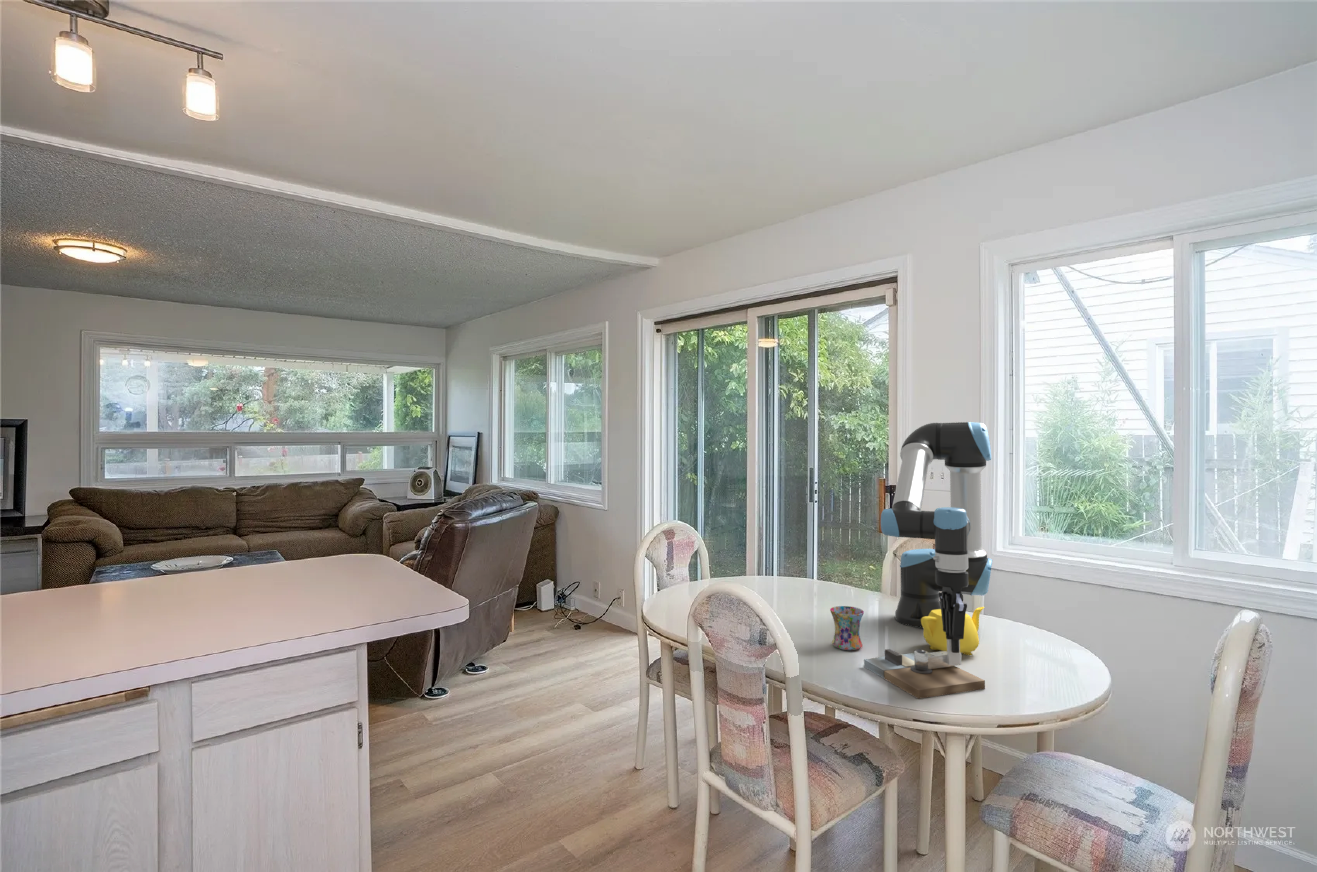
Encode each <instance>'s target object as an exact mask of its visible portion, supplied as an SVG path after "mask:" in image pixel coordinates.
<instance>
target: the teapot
mask: <svg viewBox="0 0 1317 872" xmlns="http://www.w3.org/2000/svg"><path fill="white" fill-rule="evenodd" d="M984 609H985V606H979V607H977V608H975V610H974V611H973V613H972V616H970V614H968V613H967V612H966V613H965V626H964V638H963V639H960V653H961V654H963V655H965V656H970V657H971V656H973V652H975V651H976V650H977V648H978V647H979V645H980V639H979V632H978V631H979V628H980V615H981V612H982V611H983V610H984ZM921 624H922V626H923V632H922V633H923V634H922V635H923V638H924V640H925V642H926V643H927V644H928V645H929V649H930V650H934V651H938V650H939V651H947V639H946V632H944V631H943V623H942V614H941V609H936V610H932V611H931V612H930V614H929V616H925V617H922V618H921Z"/></svg>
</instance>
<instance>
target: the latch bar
mask: <svg viewBox="0 0 1317 872" xmlns="http://www.w3.org/2000/svg"><path fill="white" fill-rule="evenodd" d="M913 653H914V667H915V668H916V669H918V670H928V669H934V668H942V667H949V666H956V667H957V666H958V665H949V664H947V651H942V650H940V651H934V652H928V651H927V650H925V649H922V648H918V649H915V650H914V652H913ZM959 666H962V653H960V665H959Z"/></svg>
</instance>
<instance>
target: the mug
mask: <svg viewBox="0 0 1317 872" xmlns="http://www.w3.org/2000/svg"><path fill="white" fill-rule="evenodd" d="M829 611H830V613H831V616H832V620H833V623H834V635H833V639H832V641H831V645H832V646H833V647H835V648H837V649H839V650H843V651H857V650H860V649H862V648H863V643H862V640H861V636H860V625H861V621H862V618H863V616H864V613H865V610H863V609H861V608H859V607H856V606H848V605H839V606H838V605H837V606H832V607H831V608H829Z"/></svg>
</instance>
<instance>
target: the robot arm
mask: <svg viewBox="0 0 1317 872" xmlns="http://www.w3.org/2000/svg"><path fill="white" fill-rule="evenodd" d="M899 456H900V459H901V465H900V469H899V474H898V479H897V483H896V487H895V492H894V498H893V501H892V508H884V509H882V511H881V514H880V530H881V533H882V534H883V535H884V536H888V537H895V538H906V539H907V538H908V539H909V538H910V539H912V538H913V539H924V540H925V539H926V540H934V548H918V549H916V548H915V549H909V550H906V551H904V552H902V553H901V555H900V564H899V568H900V598H899V600H898V603H897V607H896V610H895V613H894V617H895V618H894V619H895V621H896V622H898V623H900V624H902V625H905V626H907V627H908V626H909V627H915V628H921V629H922V628H923V626H922V624H921V618H922V617H925V616H929V614H930V612H931V611H932V610H936V609H941V614H942V623H943V631H944V632H946V639H947V664H949V665H957V666H961V665H960V639H963V638H964V626H965V613H966V614H967V608H968V604H967V603H966V602H964V595H969V596H971V597H972V596H979V597H980V596H986V595H987V594H988V592H989V588H990V587H989V586H990V582H991V581H990V580H991V574H992V567H993V559H992V558H989V557H988V552H987V551H986V550H985V549H984V548H983V547H982V546H983V545H982V490H981V489H982V480H981V479H982V478H981V477H982V474H981V473H982V470H984V469H985V468H986V467H987V461H988V462H989V461H991V460H992V451H991V443H990V437H989V431H988V427H987V426H986V424H985V423H982V422H976V421H975V422H972V421H966V422H965V421H963V422H962V421H961V422H959V421H958V422H957V421H955V422H929V423H926V424H924V425H921V426H920V427H917V428H916V429H915V430H913V431H912V432H911V433H910V434H909V435H908V436H907V437H906V439H905V440H904V441H903V443H902V446H901V449H900V453H899ZM933 460H937V461H942V460H943V461H944V467H945V468H947V469H948V470H949V473H950V474H949V480H950V481H949V483H950V484H949V485H950V488H949V492H950V497H949V498H950V507H949V506H948V507H937V508H935V509H934V510H922V505H923V499H924V493H925V488H926V483H927V477H928V476H927V475H928V470H929V465H931V464H932V462H933ZM923 629H924V628H923Z"/></svg>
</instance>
